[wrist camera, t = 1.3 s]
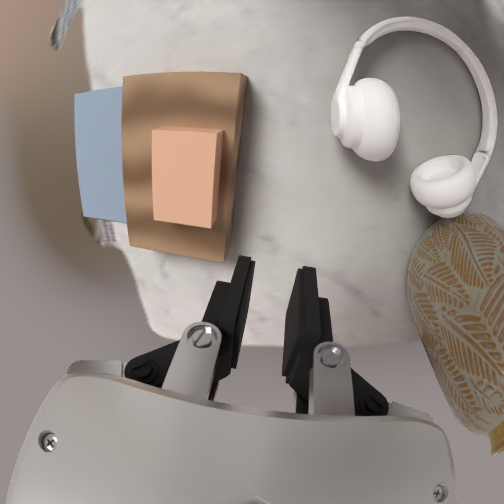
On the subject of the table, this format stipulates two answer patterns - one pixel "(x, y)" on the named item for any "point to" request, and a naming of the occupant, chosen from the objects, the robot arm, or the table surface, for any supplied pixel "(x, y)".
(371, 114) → the headphones
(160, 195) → the tile
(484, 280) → the vase
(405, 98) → the table surface
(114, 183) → the mat
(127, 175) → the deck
